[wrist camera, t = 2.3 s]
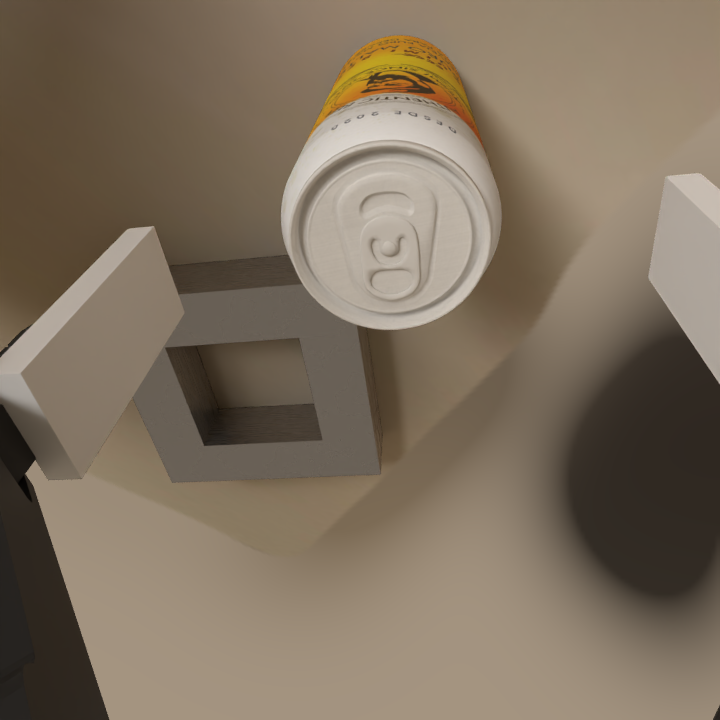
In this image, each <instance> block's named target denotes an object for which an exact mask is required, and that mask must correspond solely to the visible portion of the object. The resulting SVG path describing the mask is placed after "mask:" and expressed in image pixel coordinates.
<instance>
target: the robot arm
mask: <svg viewBox="0 0 720 720" xmlns="http://www.w3.org/2000/svg"><path fill="white" fill-rule="evenodd" d="M648 279H649V280H650V282H651V283H652V284H653V286H654V288H655V289H656V290H657V292H658V293H659V295H660V296H661V298H662V299H663V301H664V302H665V304H666V305H667V307H668V308H669V310H670V311H671V313H672V314H673V316H674V317H675V319H676V320H677V321H678V323H679V324H680V326H681V327H682V329H683V330H684V332H685V333H686V335H687V336H688V338H689V339H690V341H691V342H692V344H693V345H694V346H695V348H696V350H697V351H698V353H699V354H700V356H701V357H702V358H703V360H704V361H705V363H706V364H707V366H708V367H709V369H710V370H711V372H712V373H713V375H714V376H715V378H716V379H717V381H718V382H719V384H720V190H719V189H718V188H717V187H716V186H715V185H713V184H712V183H711V182H710V181H708V179H706V178H705V177H704V176H703V175H702V174H700V173H694V174H684V175H673V176H666V177H665V184H664V189H663V195H662V201H661V206H660V212H659V218H658V224H657V229H656V235H655V241H654V247H653V252H652V258H651V264H650V270H649V276H648ZM184 313H185V312H184V309H183V306H182V304H181V301H180V298H179V295H178V292H177V289H176V287H175V284H174V281H173V278H172V275H171V273H170V270H169V267H168V264H167V261H166V258H165V256H164V253H163V250H162V247H161V244H160V242H159V239H158V236H157V233H156V230H155V227H154V226H151V227H140V228H130V229H127V230H126V231H125V232H124V233H123V234H122V235H121V236H120V237H119V238H118V239H117V240H116V241H115V242H114V243H113V244H112V245H111V246H110V247H109V248H108V249H107V250H106V251H105V252H104V253H103V254H102V255H101V256H100V257H99V258H98V259H97V260H96V261H95V262H94V263H93V264H92V265H91V266H90V267H89V268H88V269H87V270H86V271H85V272H84V274H83V275H82V276H81V277H80V278H79V279H78V280H77V281H76V282H75V283H74V284H73V285H72V286H71V287H70V288H69V289H68V290H67V291H66V292H65V293H64V294H63V295H62V296H61V297H60V298H59V299H58V300H57V301H56V302H55V303H54V304H53V305H52V306H51V307H50V308H49V309H48V310H47V311H46V312H45V313H44V314H43V315H42V316H41V317H40V318H39V319H38V320H37V321H36V322H35V323H34V324H32V325H30V326H29V327H27V328H26V329H24V330H22V331H21V332H20V333H19V334H18V335H17V336H16V337H15V338H14V339H13V340H12V341H11V342H10V343H9V344H8V347H5V348H4V349H3V350H2V351H1V352H0V720H109V717H108V714H107V711H106V708H105V705H104V702H103V699H102V696H101V693H100V690H99V687H98V683H97V680H96V677H95V674H94V671H93V668H92V665H91V662H90V659H89V656H88V653H87V650H86V647H85V644H84V640H83V637H82V634H81V631H80V628H79V625H78V622H77V619H76V616H75V613H74V610H73V607H72V604H71V600H70V597H69V594H68V591H67V588H66V585H65V582H64V579H63V576H62V573H61V570H60V567H59V564H58V561H57V557H56V554H55V551H54V548H53V545H52V542H51V539H50V536H49V533H48V530H47V527H46V524H45V521H44V518H43V515H42V511H41V508H40V505H39V502H38V499H37V496H36V493H35V490H34V487H33V485H32V483H31V482H30V480H29V479H28V478H27V476H26V475H25V473H26V472H27V470H28V469H29V468H30V466H31V465H32V463H33V462H34V461H35V460H36V462H37V463H38V465H39V466H40V468H41V469H42V471H43V473H44V474H45V476H46V477H47V479H48V480H64V479H82V478H83V476H84V475H85V473H86V472H87V470H88V468H89V467H90V465H91V463H92V462H93V460H94V459H95V457H96V455H97V454H98V452H99V451H100V449H101V447H102V446H103V444H104V442H105V441H106V439H107V438H108V436H109V434H110V433H111V431H112V429H113V428H114V426H115V425H116V423H117V421H118V420H119V418H120V417H121V415H122V413H123V412H124V410H125V408H126V407H127V405H128V404H129V402H130V400H131V399H132V397H133V396H134V394H135V392H136V391H137V389H138V387H139V386H140V384H141V383H142V381H143V379H144V378H145V376H146V375H147V373H148V371H149V370H150V368H151V366H152V365H153V363H154V362H155V360H156V358H157V357H158V355H159V353H160V352H161V350H162V349H163V347H164V345H165V344H166V342H167V341H168V339H169V337H170V336H171V334H172V332H173V331H174V329H175V328H176V326H177V324H178V323H179V321H180V320H181V318H182V316H183V315H184ZM713 720H720V706H719V708H718V711H717V712H716V714H715V716H714V718H713Z"/></svg>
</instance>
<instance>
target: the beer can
mask: <svg viewBox="0 0 720 720" xmlns="http://www.w3.org/2000/svg"><path fill="white" fill-rule="evenodd" d="M501 223H502V210H501V201H500V196H499V191H498V188H497V185H496V182H495V179H494V176H493V173H492V170H491V167H490V164H489V161H488V159H487V156H486V153H485V150H484V147H483V144H482V141H481V138H480V135H479V132H478V129H477V126H476V123H475V120H474V117H473V115H472V112H471V109H470V106H469V103H468V100H467V97H466V94H465V91H464V88H463V85H462V82H461V79H460V77H459V74H458V72H457V70H456V68H455V67H454V65H453V64H452V62H451V61H450V60H449V59H448V57H447V56H446V55H445V54H444V53H443V52H442V51H441V50H439V49H438V48H437V47H435V46H434V45H432V44H430V43H429V42H427V41H424V40H422V39H419V38H416V37H411V36H403V35H397V36H388V37H383V38H380V39H377V40H375V41H372V42H370V43H368V44H367V45H365V46H363V47H362V48H361V49H359V50H358V51H357V52H356V53H355V54H354V55H353V56H352V57H351V58H350V59H349V60H348V61H347V63H346V64H345V65H344V67H343V68H342V70H341V72H340V73H339V75H338V78H337V80H336V82H335V84H334V86H333V88H332V90H331V92H330V94H329V96H328V98H327V100H326V102H325V104H324V106H323V108H322V111H321V113H320V115H319V117H318V119H317V121H316V123H315V125H314V127H313V129H312V131H311V133H310V135H309V137H308V139H307V141H306V144H305V146H304V148H303V150H302V152H301V154H300V156H299V158H298V160H297V162H296V164H295V166H294V168H293V170H292V173H291V175H290V177H289V179H288V181H287V184H286V188H285V191H284V194H283V200H282V205H281V228H282V234H283V239H284V243H285V246H286V250H287V253H288V255H289V257H290V259H291V262H292V264H293V265H294V268H295V270H296V272H297V274H298V277H299V278H300V280H301V282H302V283H303V285H304V287H305V288H306V289H307V291H308V292H309V293H310V295H311V296H312V297H313V298H314V299H315V300H316V301H317V302H318V303H319V304H321V305H322V306H323V307H324V308H325V309H327V310H328V311H330V312H331V313H333V314H334V315H336V316H338V317H339V318H341V319H343V320H345V321H348V322H350V323H353V324H356V325H359V326H362V327H366V328H371V329H379V330H401V329H409V328H414V327H418V326H421V325H425V324H428V323H430V322H432V321H435V320H437V319H439V318H441V317H443V316H444V315H446V314H448V313H449V312H451V311H452V310H453V309H455V308H456V307H457V306H458V305H460V304H461V303H462V302H463V301H464V300H465V299H466V298H467V297H468V296H469V295H470V293H471V292H472V291H473V289H474V288H475V287H476V285H477V284H478V282H479V280H480V278H481V277H482V275H483V274H484V273H485V271H486V269H487V268H488V266H489V264H490V263H491V261H492V258H493V256H494V254H495V251H496V248H497V245H498V242H499V238H500V232H501Z"/></svg>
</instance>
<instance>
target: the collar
mask: <svg viewBox="0 0 720 720" xmlns="http://www.w3.org/2000/svg"><path fill="white" fill-rule="evenodd" d="M168 267H169V270H170V273H171V275H172V278H173V281H174V284H175V287H176V289H177V292H178V295H179V298H180V301H181V304H182V306H183V309H184V312H185V313H184V315H183V316H182V318H181V320H180V321H179V323H178V324H177V326H176V328H175V329H174V331H173V332H172V334H171V336H170V337H169V339H168V341H167V342H166V344H165V345H164V347H163V349H162V350H161V352H160V353H159V355H158V357H157V358H156V360H155V362H154V363H153V365H152V366H151V368H150V370H149V371H148V373H147V375H146V376H145V378H144V379H143V381H142V383H141V384H140V386H139V387H138V389H137V391H136V392H135V394H134V396H133V397H132V398H133V400H134V402H135V404H136V406H137V409H138V411H139V413H140V415H141V417H142V419H143V421H144V423H145V426H146V428H147V430H148V432H149V434H150V436H151V438H152V441H153V443H154V445H155V447H156V449H157V451H158V453H159V456H160V458H161V460H162V462H163V464H164V466H165V468H166V470H167V473H168V475H169V477H170V479H171V481H172V483H176V482H201V481H226V480H251V479H277V478H302V477H327V476H352V475H377V474H381V456H382V438H383V435H382V429H381V422H380V415H379V409H378V402H377V395H376V388H375V382H374V375H373V368H372V362H371V355H370V348H369V341H368V335H367V328H366V327H362V326H359V325H356V324H353V323H350V322H348V321H345V320H343V319H341V318H339V317H338V316H336V315H334V314H333V313H331V312H330V311H328V310H327V309H325V308H324V307H323V306H322V305H321V304H319V303H318V302H317V301H316V300H315V299H314V298H313V297H312V296H311V295H310V293H309V292H308V291H307V289H306V288H305V287H304V285H303V283H302V282H301V280H300V278H299V277H298V274H297V272H296V270H295V268H294V265H293V264H292V262H291V259H290V257H289V255H285V256H274V257H263V258H252V259H241V260H230V261H219V262H208V263H197V264H186V265H176V266H168ZM290 338H299V340H300V345H301V349H302V353H303V358H304V362H305V366H306V370H307V375H308V379H309V383H310V388H311V392H312V396H313V401H314V404H304V405H286V406H268V407H251V408H233V409H218V406H217V403H216V400H215V397H214V395H213V392H212V389H211V386H210V384H209V381H208V378H207V375H206V372H205V370H204V367H203V364H202V361H201V359H200V356H199V353H198V350H197V348H196V345H207V344H221V343H235V342H249V341H262V340H276V339H290Z"/></svg>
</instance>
